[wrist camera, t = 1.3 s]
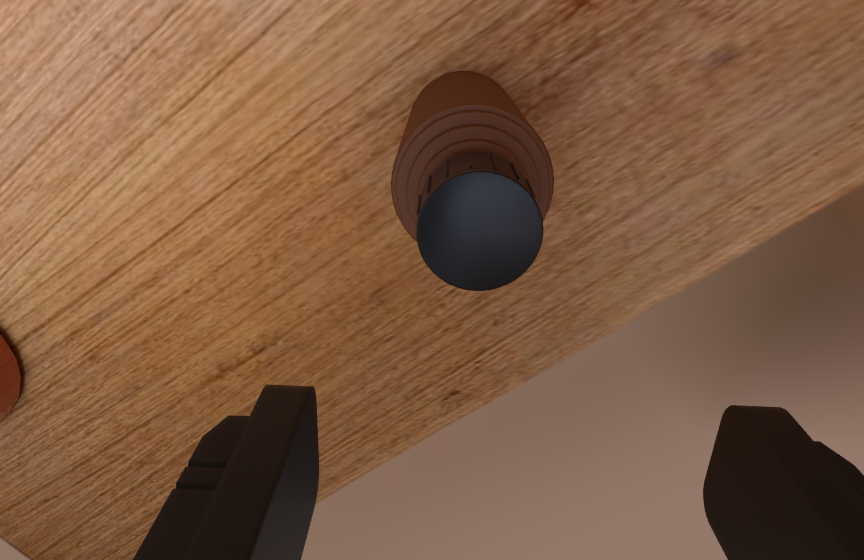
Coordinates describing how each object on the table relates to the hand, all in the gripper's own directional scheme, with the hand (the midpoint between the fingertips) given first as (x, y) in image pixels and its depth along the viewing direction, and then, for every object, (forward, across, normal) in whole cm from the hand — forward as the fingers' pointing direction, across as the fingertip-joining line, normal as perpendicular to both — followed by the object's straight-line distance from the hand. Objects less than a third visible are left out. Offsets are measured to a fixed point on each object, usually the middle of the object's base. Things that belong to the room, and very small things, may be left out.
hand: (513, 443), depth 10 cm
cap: (+11, 0, 0) cm, 11 cm away
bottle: (+30, 0, 0) cm, 30 cm away
